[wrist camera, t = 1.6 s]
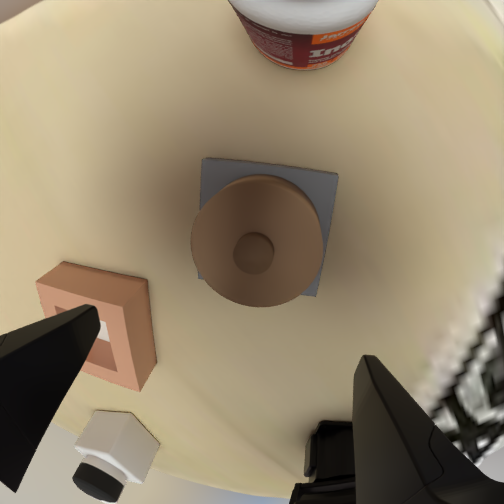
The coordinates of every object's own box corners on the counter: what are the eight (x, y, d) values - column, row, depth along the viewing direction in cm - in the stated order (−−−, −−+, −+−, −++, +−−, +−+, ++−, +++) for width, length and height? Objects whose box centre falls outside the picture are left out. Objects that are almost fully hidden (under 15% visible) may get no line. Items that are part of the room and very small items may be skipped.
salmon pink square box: (147, 279, 23) (122, 306, 19) (156, 362, 26) (139, 392, 23) (63, 261, 24) (35, 281, 20) (81, 338, 27) (61, 362, 24)
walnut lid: (328, 182, 17) (335, 197, 13) (310, 289, 20) (310, 323, 16) (209, 168, 18) (186, 179, 14) (205, 273, 20) (186, 303, 17)
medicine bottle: (95, 409, 33) (55, 473, 22) (131, 411, 31) (91, 487, 20) (124, 439, 35) (92, 501, 25) (161, 444, 34) (131, 514, 23)
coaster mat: (336, 173, 17) (338, 175, 17) (315, 289, 21) (315, 296, 20) (206, 157, 18) (202, 159, 17) (202, 271, 22) (198, 278, 21)
